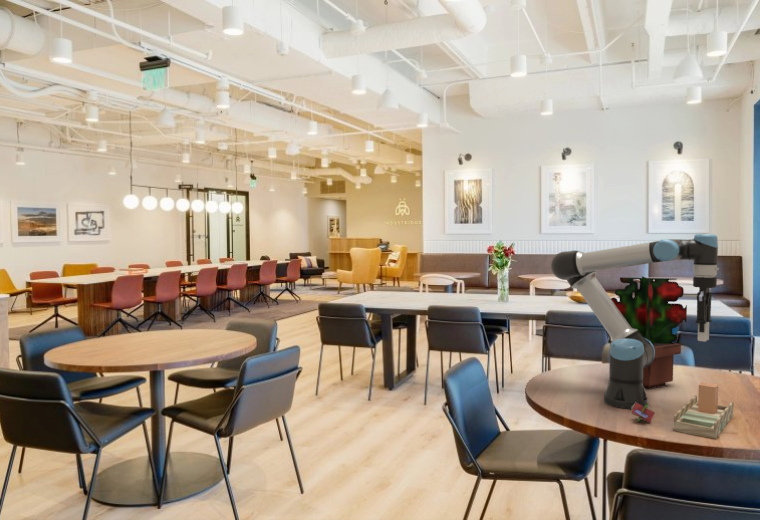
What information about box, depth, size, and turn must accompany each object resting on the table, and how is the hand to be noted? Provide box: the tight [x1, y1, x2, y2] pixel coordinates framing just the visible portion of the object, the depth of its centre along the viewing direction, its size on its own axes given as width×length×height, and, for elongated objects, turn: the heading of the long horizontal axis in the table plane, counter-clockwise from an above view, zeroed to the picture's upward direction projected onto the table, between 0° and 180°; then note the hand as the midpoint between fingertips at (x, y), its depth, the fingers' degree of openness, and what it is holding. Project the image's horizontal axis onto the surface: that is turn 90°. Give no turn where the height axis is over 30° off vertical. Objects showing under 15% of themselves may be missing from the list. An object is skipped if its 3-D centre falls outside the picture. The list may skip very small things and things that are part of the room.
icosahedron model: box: [630, 402, 655, 424], centre depth 196 cm, size 7×7×8 cm
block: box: [697, 381, 719, 414], centre depth 199 cm, size 5×5×9 cm
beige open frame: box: [672, 395, 734, 440], centre depth 195 cm, size 30×12×5 cm, turn 140°
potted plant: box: [609, 275, 688, 390], centre depth 245 cm, size 22×22×45 cm
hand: (703, 340), depth 213 cm, fingers open, 3 cm apart
